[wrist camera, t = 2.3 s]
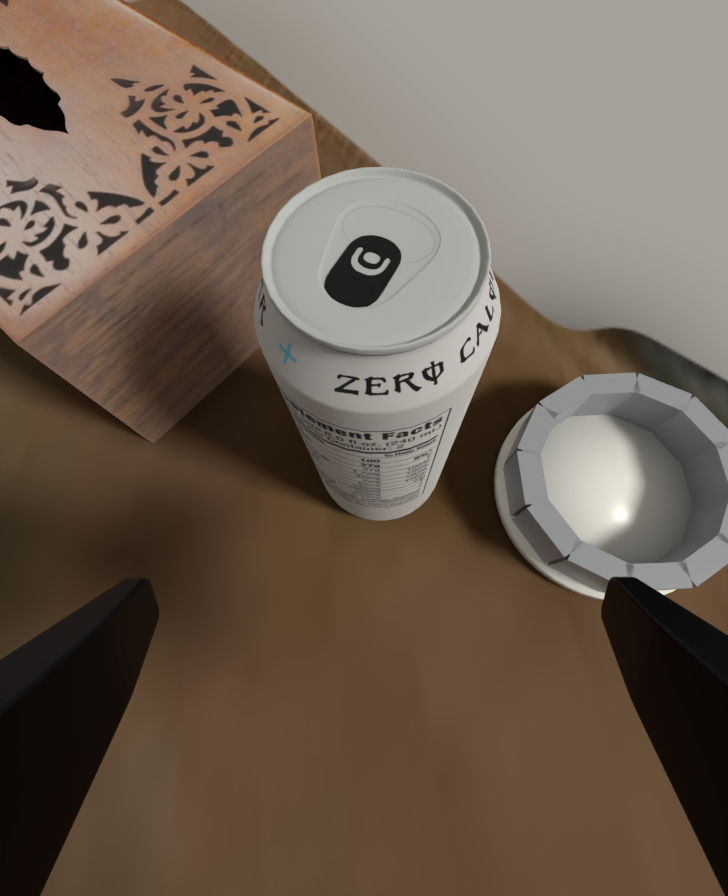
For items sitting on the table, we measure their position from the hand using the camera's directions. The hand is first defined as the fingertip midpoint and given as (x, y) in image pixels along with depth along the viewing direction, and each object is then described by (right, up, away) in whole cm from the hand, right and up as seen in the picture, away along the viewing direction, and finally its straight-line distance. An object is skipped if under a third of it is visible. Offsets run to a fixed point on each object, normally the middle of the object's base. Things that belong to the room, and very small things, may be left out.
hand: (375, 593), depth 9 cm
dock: (+12, +1, +14) cm, 18 cm away
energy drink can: (+1, +2, +15) cm, 15 cm away
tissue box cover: (-16, +16, +21) cm, 31 cm away
